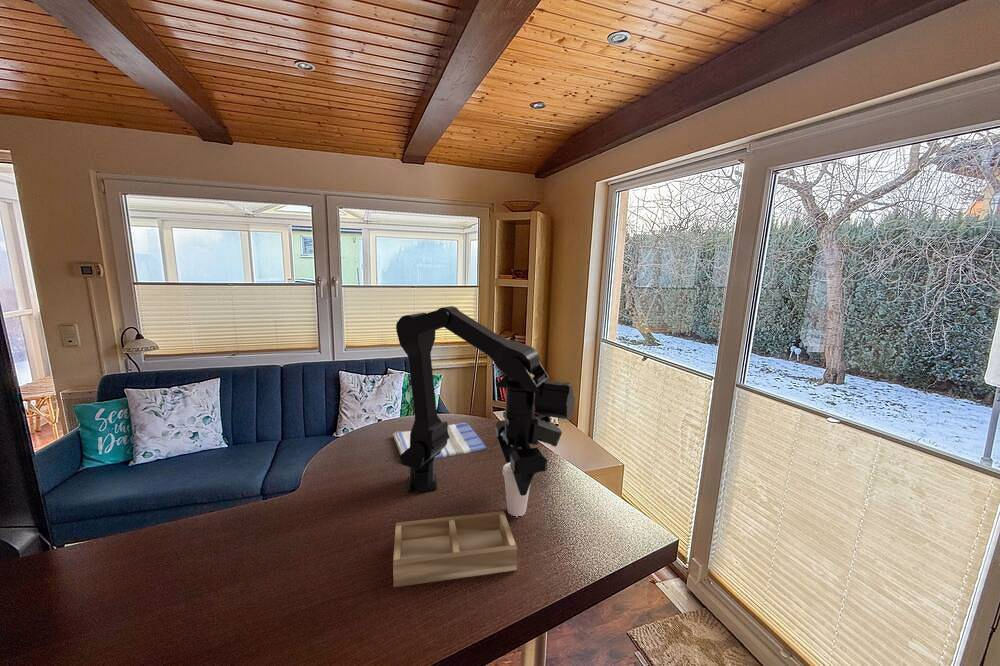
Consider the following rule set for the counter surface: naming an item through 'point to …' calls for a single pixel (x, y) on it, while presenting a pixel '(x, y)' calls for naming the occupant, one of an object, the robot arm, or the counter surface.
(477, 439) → the dish towel
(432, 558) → the tray
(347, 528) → the counter surface
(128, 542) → the counter surface
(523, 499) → the smoothie
